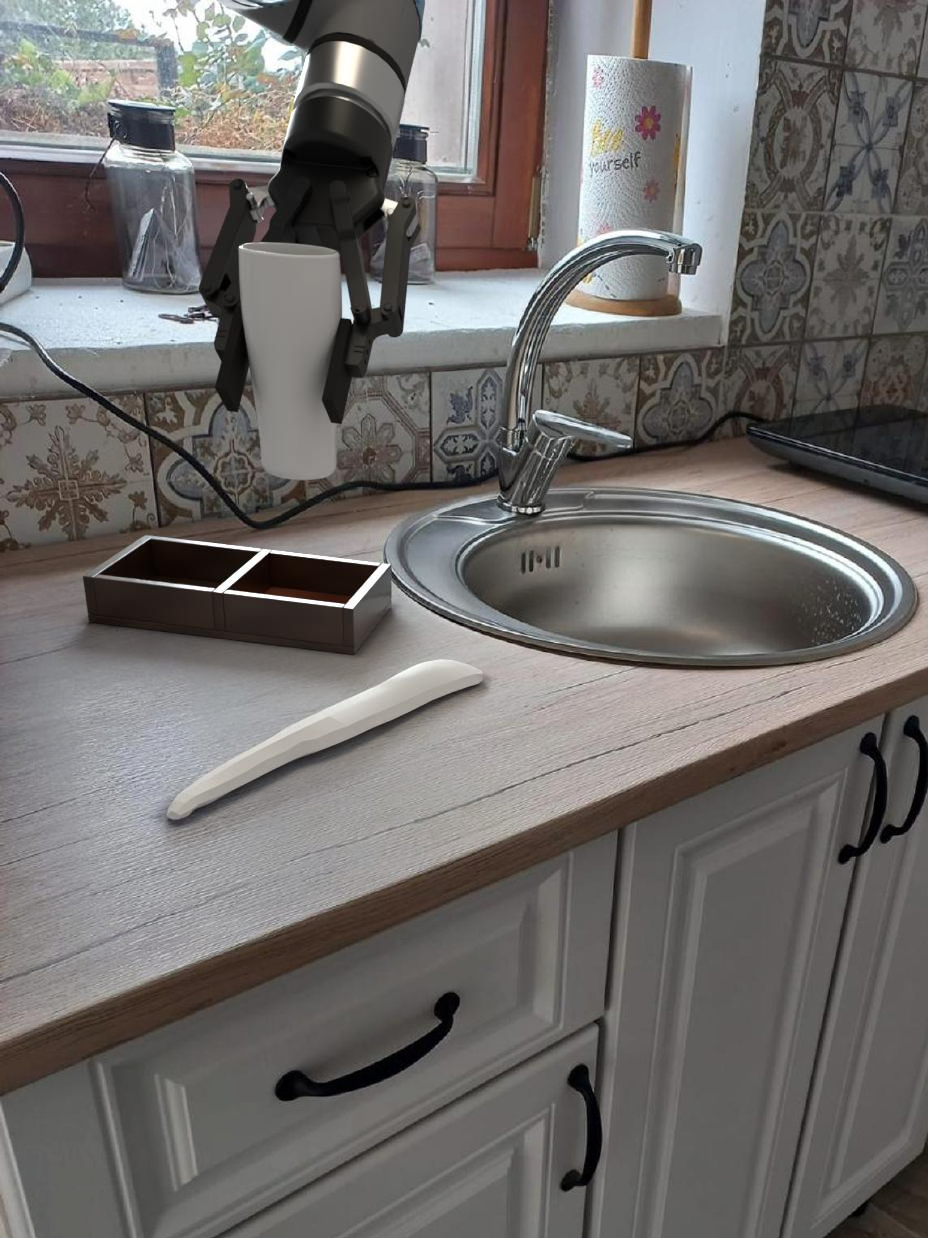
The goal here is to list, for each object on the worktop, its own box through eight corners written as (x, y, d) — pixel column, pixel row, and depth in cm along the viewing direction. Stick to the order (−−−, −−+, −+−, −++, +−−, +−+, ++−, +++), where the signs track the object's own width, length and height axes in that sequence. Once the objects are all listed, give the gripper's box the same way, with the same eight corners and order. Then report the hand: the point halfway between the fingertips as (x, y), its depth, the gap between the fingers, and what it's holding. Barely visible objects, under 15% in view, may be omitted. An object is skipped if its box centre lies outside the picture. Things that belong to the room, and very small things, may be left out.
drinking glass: (300, 490, 87) (289, 257, 79) (231, 470, 90) (214, 243, 82) (366, 474, 92) (361, 253, 84) (299, 455, 95) (289, 240, 87)
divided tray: (88, 622, 93) (82, 575, 91) (149, 577, 102) (144, 534, 100) (354, 654, 92) (353, 608, 90) (391, 606, 101) (391, 564, 99)
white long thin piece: (188, 827, 69) (181, 786, 68) (137, 813, 71) (129, 773, 70) (490, 685, 90) (487, 653, 89) (444, 677, 92) (441, 645, 91)
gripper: (481, 185, 94) (428, 452, 88) (229, 159, 95) (160, 421, 89) (468, 104, 87) (409, 389, 81) (195, 76, 88) (118, 356, 82)
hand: (279, 405), depth 85 cm, fingers closed on drinking glass, 7 cm apart
